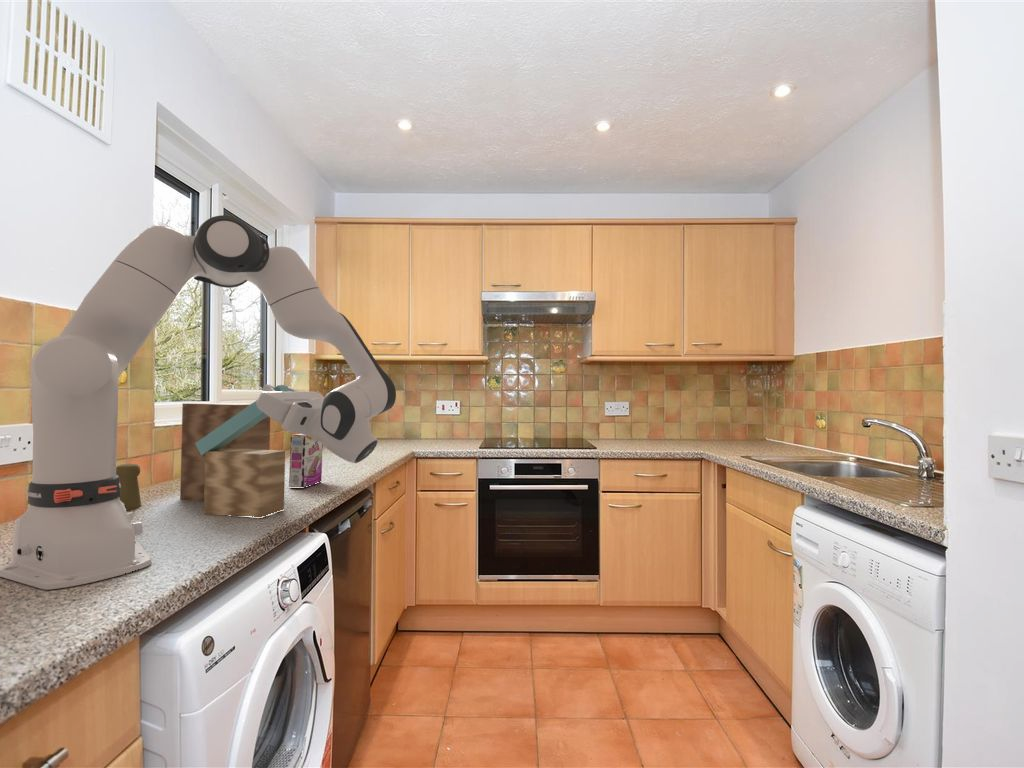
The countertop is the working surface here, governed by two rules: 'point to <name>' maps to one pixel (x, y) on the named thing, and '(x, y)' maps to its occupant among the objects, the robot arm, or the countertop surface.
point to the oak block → (244, 482)
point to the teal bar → (233, 427)
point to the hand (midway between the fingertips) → (272, 387)
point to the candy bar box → (305, 461)
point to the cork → (129, 485)
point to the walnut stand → (198, 425)
